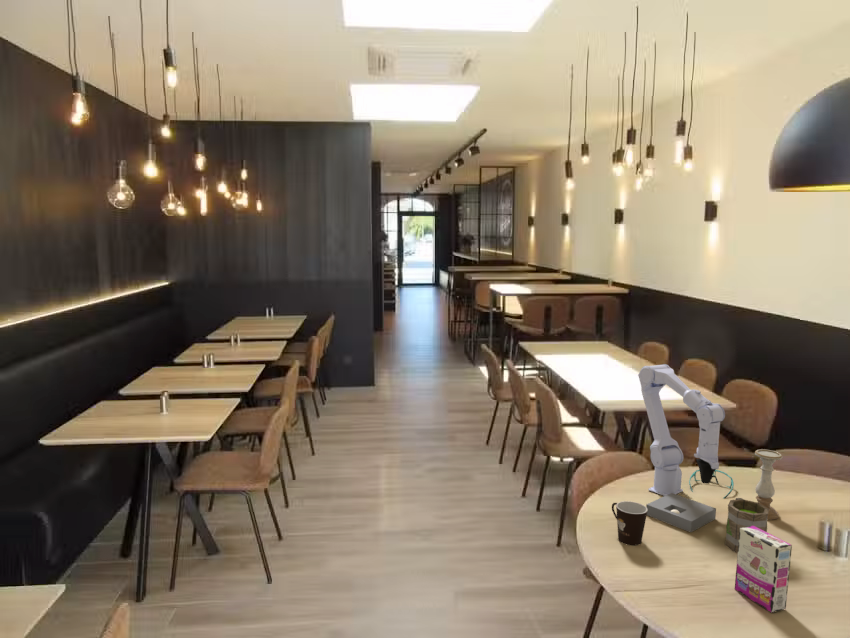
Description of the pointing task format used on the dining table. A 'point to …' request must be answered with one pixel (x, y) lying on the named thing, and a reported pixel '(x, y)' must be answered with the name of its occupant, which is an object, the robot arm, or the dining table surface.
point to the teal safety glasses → (711, 478)
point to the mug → (744, 519)
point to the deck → (681, 512)
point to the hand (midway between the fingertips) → (705, 482)
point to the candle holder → (767, 480)
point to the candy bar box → (763, 568)
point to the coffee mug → (630, 521)
